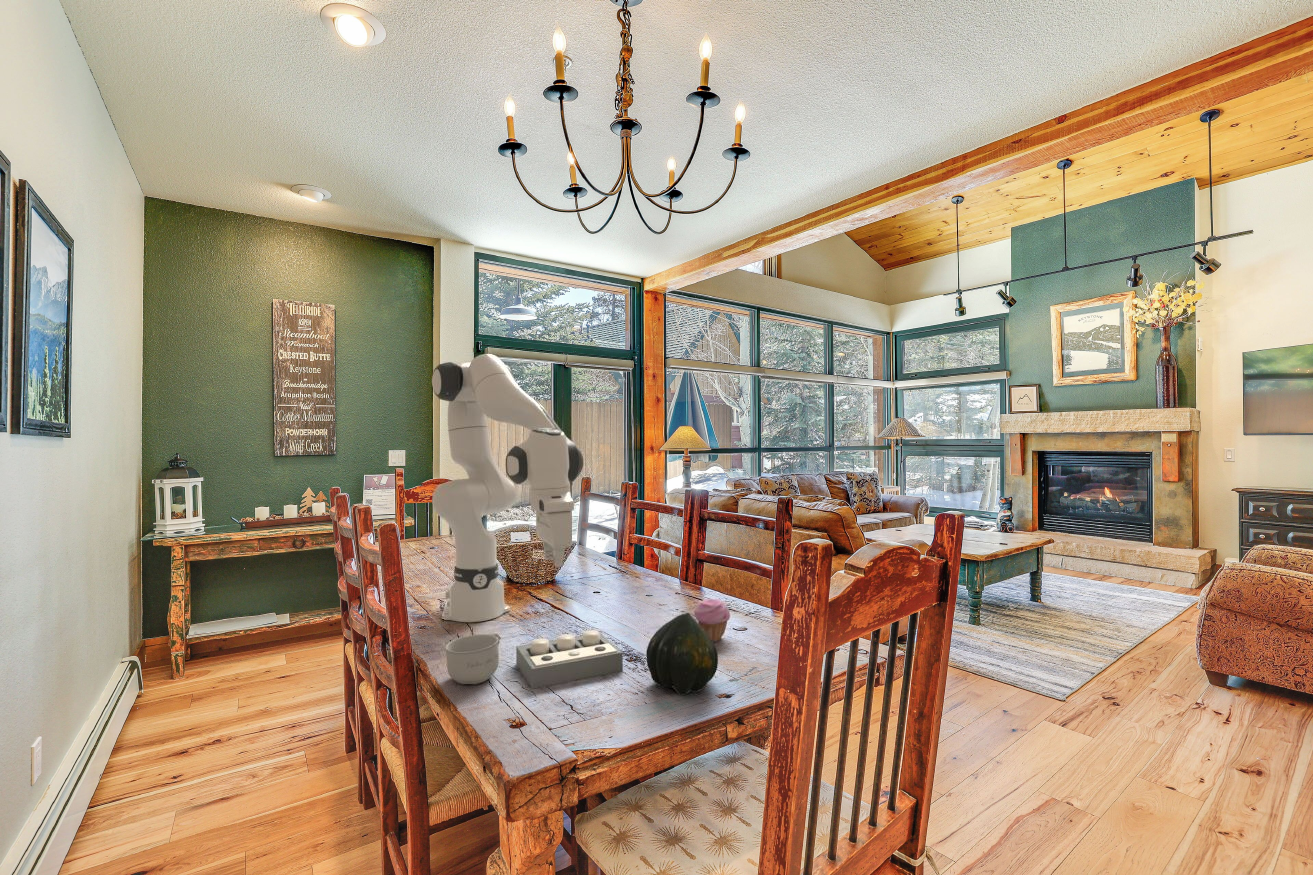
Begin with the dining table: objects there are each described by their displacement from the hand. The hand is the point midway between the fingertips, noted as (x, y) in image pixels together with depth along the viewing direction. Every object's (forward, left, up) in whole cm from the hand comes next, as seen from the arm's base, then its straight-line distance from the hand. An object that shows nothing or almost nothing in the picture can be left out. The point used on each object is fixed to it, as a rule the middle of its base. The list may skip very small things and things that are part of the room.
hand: (553, 562), depth 131 cm
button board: (+2, +3, -23) cm, 23 cm away
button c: (0, +9, -20) cm, 22 cm away
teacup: (-2, -16, -23) cm, 28 cm away
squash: (+21, +21, -23) cm, 38 cm away
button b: (0, +3, -20) cm, 20 cm away
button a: (0, -3, -20) cm, 20 cm away
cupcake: (+1, +41, -23) cm, 47 cm away
